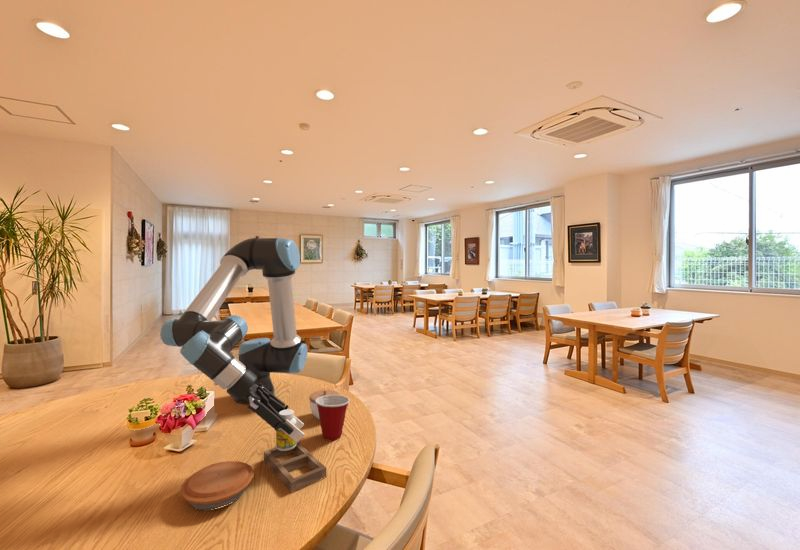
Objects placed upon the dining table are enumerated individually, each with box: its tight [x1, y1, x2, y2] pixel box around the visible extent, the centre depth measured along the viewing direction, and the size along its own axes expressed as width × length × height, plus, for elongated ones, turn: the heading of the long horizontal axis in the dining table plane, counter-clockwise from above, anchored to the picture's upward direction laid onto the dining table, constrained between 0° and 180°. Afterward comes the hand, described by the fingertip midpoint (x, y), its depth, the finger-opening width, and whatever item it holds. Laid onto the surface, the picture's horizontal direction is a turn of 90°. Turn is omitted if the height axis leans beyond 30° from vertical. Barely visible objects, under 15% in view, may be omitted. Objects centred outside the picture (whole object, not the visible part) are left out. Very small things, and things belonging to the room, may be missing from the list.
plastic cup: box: [315, 394, 351, 441], centre depth 113 cm, size 11×11×12 cm
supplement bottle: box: [275, 408, 297, 451], centre depth 97 cm, size 5×5×10 cm
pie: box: [179, 460, 255, 511], centre depth 84 cm, size 16×16×5 cm
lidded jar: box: [308, 389, 341, 421], centre depth 127 cm, size 11×11×9 cm
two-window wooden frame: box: [263, 441, 327, 493], centre depth 95 cm, size 18×10×2 cm, turn 41°
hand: (300, 432), depth 99 cm, fingers closed on supplement bottle, 5 cm apart
